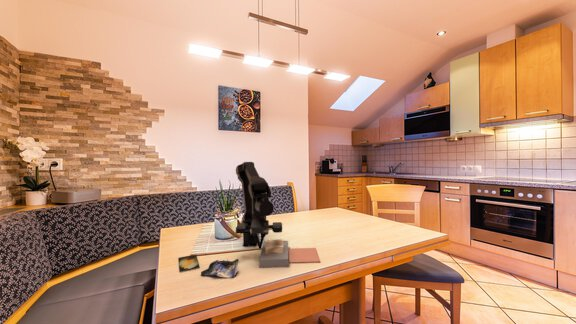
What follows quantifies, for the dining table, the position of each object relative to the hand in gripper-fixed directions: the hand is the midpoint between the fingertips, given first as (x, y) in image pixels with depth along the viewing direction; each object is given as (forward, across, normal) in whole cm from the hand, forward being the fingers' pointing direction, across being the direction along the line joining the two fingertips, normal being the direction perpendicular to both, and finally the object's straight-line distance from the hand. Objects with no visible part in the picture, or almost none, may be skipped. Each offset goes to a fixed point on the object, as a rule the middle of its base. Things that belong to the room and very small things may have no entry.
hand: (260, 248), depth 99 cm
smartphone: (+4, -28, -4) cm, 29 cm away
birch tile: (0, +6, 0) cm, 6 cm away
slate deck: (+4, +6, 0) cm, 7 cm away
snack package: (+4, -13, -14) cm, 19 cm away
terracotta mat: (+4, +18, 0) cm, 18 cm away
